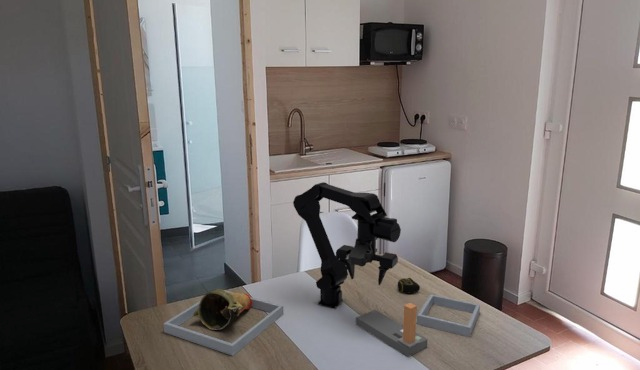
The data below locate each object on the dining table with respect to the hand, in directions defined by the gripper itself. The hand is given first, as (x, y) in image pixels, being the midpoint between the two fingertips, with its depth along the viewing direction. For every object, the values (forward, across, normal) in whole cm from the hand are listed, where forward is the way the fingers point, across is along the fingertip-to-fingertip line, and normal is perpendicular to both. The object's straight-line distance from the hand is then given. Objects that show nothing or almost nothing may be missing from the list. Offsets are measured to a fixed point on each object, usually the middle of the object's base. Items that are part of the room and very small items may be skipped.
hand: (365, 281), depth 148 cm
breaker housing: (+12, +11, -7) cm, 18 cm away
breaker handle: (+9, +18, -12) cm, 24 cm away
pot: (+12, -38, -23) cm, 46 cm away
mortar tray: (+12, -37, -24) cm, 46 cm away
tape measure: (+12, +6, +24) cm, 28 cm away
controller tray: (+12, +24, +11) cm, 29 cm away
